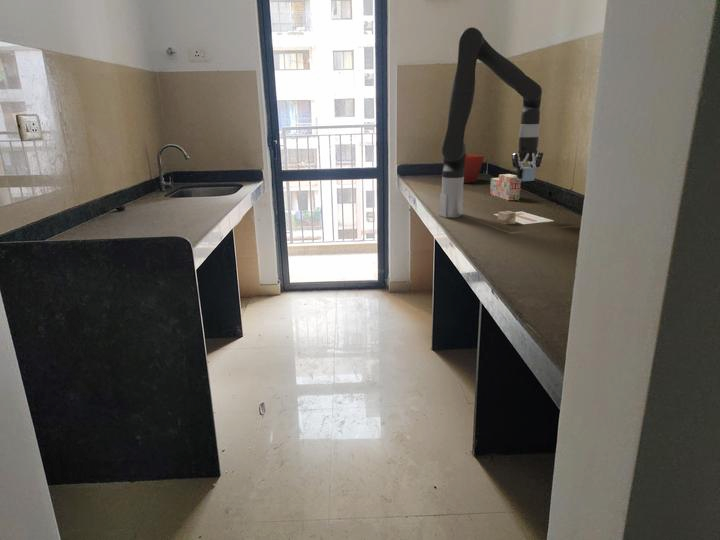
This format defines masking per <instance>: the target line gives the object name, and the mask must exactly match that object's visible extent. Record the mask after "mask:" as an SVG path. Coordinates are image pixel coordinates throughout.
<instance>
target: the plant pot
mask: <svg viewBox="0 0 720 540" xmlns="http://www.w3.org/2000/svg"><path fill="white" fill-rule="evenodd" d="M442 156H443V155H442ZM443 158H444V156H443ZM484 158H485V155H478V154H467V153H465V169H464V183H463V184H467V183H476V182H477V181H478V178H479V176H480V173H481V172H480V171H481V169H482V167H483V166H482V165H483V162H484Z"/></svg>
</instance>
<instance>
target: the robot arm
mask: <svg viewBox="0 0 720 540" xmlns="http://www.w3.org/2000/svg"><path fill="white" fill-rule="evenodd" d="M477 60H478V61H479V62H481V63H483V64H484V65H485V66H486V67H488V68H489V69H490V70H491V71H492V72H493V73H494V74H495V75H496V76H497V77H498V78H499V79H500V80H501V81H503V82H504V83H505V84H506V85H507V86H508V87H510V88H512V89H513V90H514V91H516V93H518V95H520V96H521V97H522V112H521V118H520V126H519V133H518V135H519V136H518V146H517V147H518V151H517V152H515V153H511V161H512V167H513V169H516V175H517V177H518V179H522V172H523V170H522V169H523V167H525V165H526V162H527V163H528V164H529V167H531V168H535V170H536V169H537V168H539V167H541V163H542V159H543V156H544V152H542V151H541V152H540V151H538V148H539V140H540V139H539V136H540V118H541V117H540V116H541V112H540V110H541V109H540V108H541V104H542V103H541V102H542V101H541V100H542V95H543V94H542V93H543V89H542V86H541V85H540V84H538V83H537V81H535V80H534V79H532V78H531V77H530V76H528V75H527V74H525V72H524V71H523V70H521V68H519V67H518V66H517V65H515V63H514V62H512V61H510V60H509V59H508V58H506V56H503V55H502V54H501V53H499V52H498V51H496V50H495V48H493V46H491V44H490V43H489V42H488V41H487V40H486V39H485V37H484V35H483V33H482V32H481V31H480V30H479V29H478V28H476V27H472V26H471V27H467V28H466V29H464V30H463V31H462V33H461V34H460V36H459V40H458V53H457V65H456V70H455V72H454V73H455V74H454V78H453V83H452V89H451V93H450V99H449V108H448V117H447V118H448V119H447V128H446V132H445V137H444V141H443V145H442V146H441V147H442V148H441V153H442V156H444V157H443V167H442V171H441V173H442V174H441V175H442V176H441V193H440V194H439V214H438V215H439V216H441V217H443V218H460V217H463V208H464V207H463V205H464V184H465V183H464V169H465V154H467V153H466V152H467V151H466V144H465V131H466V127H467V124H468V120H469V118H470V114H471V111H472V108H473V103H474V98H475V88H476V67H477V66H476V65H477V62H478V61H477Z"/></svg>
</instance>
